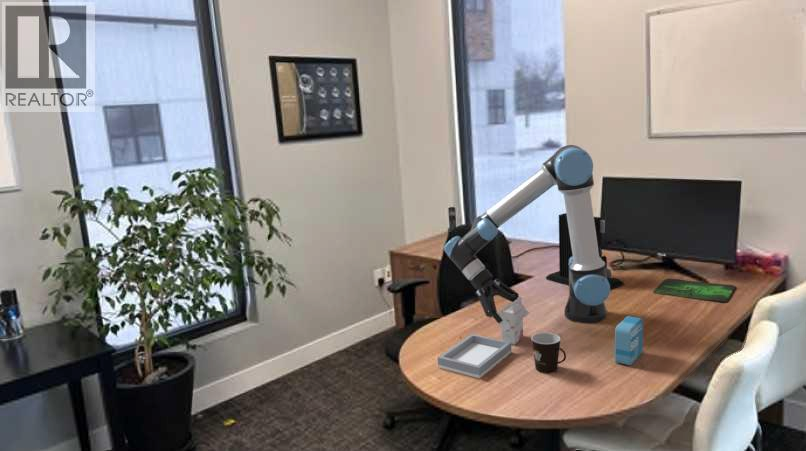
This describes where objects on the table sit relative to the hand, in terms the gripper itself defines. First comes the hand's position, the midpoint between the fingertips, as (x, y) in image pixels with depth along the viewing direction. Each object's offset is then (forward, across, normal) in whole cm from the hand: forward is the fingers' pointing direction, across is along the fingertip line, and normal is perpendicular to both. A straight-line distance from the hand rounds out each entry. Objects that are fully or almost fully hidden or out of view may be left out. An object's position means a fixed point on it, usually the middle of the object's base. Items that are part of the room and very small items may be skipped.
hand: (518, 322), depth 196 cm
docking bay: (+1, +20, -8) cm, 22 cm away
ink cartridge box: (+3, 0, -6) cm, 7 cm away
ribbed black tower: (+3, -71, -7) cm, 71 cm away
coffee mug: (+17, +16, +8) cm, 25 cm away
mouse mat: (+33, -78, +23) cm, 88 cm away
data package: (+30, -4, +20) cm, 37 cm away
